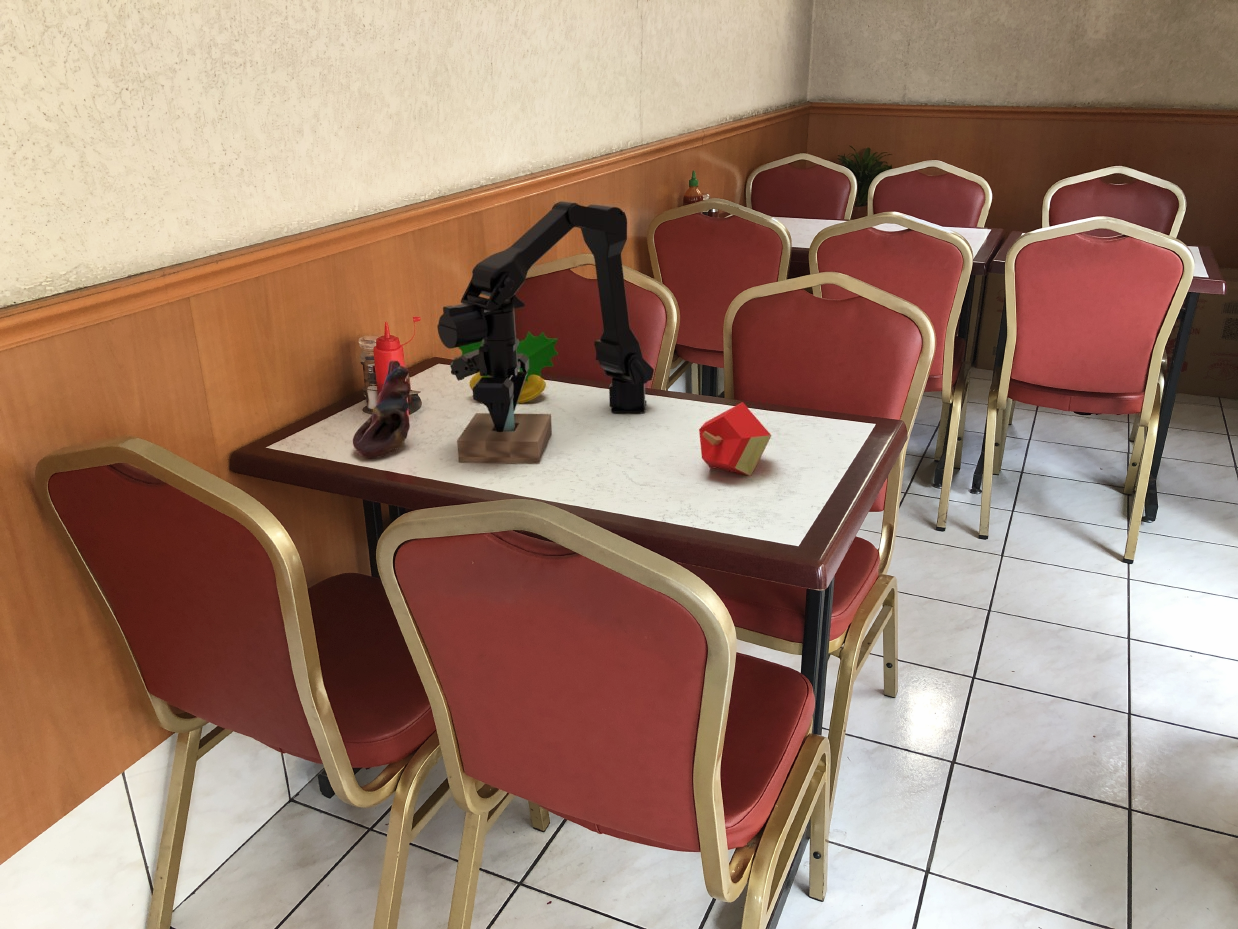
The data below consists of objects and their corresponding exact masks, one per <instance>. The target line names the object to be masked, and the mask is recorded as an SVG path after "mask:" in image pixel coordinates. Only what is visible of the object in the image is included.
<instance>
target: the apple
mask: <svg viewBox="0 0 1238 929" xmlns="http://www.w3.org/2000/svg"><path fill="white" fill-rule="evenodd" d="M698 431H699V434H698V435H699V442H700V443H699V444H700V451H701V452H700V453H701V459H702V461H704V462H705V463H706V464H707V466H708V467H709V468H714V469H719V470H722V471H727V472H732V473H736V474H741V475H745V476H749V477H751V475H752V474H753V472H754V471H755V468H756V467H757V466H758V464H759V462H760V459H761V457H762V456H763V453H764V452H765V449H766V447H767V445H768V443H769V442H770V439H771V438H772V434H771V433H770V431H768V429H767V428H766V427H765V426H764V425H763V424H762V423H761V421H759V419H758V418H757V417H756V415H755V414H754V413H753V412H752V411H751V410H750V409H749V408H748V407H747V405H746V404H745V403H744V402H742V401H741V402H740V403H738V404H736V405H734V406H733V407H731V408H729V409H727V410H725V411H723V412H721V413H720V414H718V415H716V416H714V417H712V418H711V419H709V420H707V421H705V422H704V423H703V424H702V425H701V426H700V428H699V429H698Z"/></svg>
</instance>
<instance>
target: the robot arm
mask: <svg viewBox="0 0 1238 929" xmlns="http://www.w3.org/2000/svg"><path fill="white" fill-rule="evenodd" d="M574 228H578V229H580V230H581V234H582V237H583V241H584V243H585V245H586V246H587V248H588V250H589V251H590V252H591V254H592V255H593V259H594V267H595V274H596V281H597V287H598V288H597V289H598V297H599V303H600V311H601V320H602V325H603V326H602V328H603V331H602V334H601V336H600V339H597V340H594V342H593V343H594V344H593V345H594V348H595V354H596V355H595V361H597V362H598V363H599V365H600V367H601V368H602V369H603V372H604V375H605V376H606V377H610V378H611V383H610V384H609V387H608V390H609V391H608V393H609V394H608V397H609V399H608V400H609V407H610V408H611V410H610V411H611V413H614V414H617V413H618V414H623V413H624V414H644V413H645V412H646V408H647V400H646V384H647V383H648V382H649V381H652V379H653V376H654V371H655V369H654V368H653V367H652V366H651V365H650V364H649V363H648V362H647V361H646V360H645V359H644V358H643V357H644V356H643V352H642V349H641V348H642V347H641V345H640V341H639V340H638V338H637V337H636V335H635V334H634V331H633V330H632V329H631V326H630V319H629V318H630V317H629V311H628V310H629V309H628V303H627V302H628V301H627V295H626V294H627V293H626V286H625V276H624V268H623V259H622V252H623V250H624V248H625V245H626V242H627V239H628V218H627V215H626V212H625V211H623V210H622V208H620V207H616V206H610V205H603V204H595V203H594V204H589V205H587V206H584V205H581V204H579V203H576V202H571V201H564V200H563V201H561V200H560V201H558V202H556V203H554V204H553V206H552V208H551V210H549V211H548V212H547V213H546V214H545V215H543V216H542V217H541V218H540V219H539V220H538V221H537V222H536V223H535V224H534V225H533V226H531V227H530V228H529V229H528V230H527V231H526V232H525V233H524V234H523V235H522V236H520V237H519V238H518V239H517V240H516V241H514V243H513V244H511V246H509V247H508V248H506V249H504V250H502V251H499V252H496V253H493V254H491V255H490V256H487V257H486V258H484V259H483V260H481V261H479V262H478V263H477V264H476V265H475V266H474V267H473V269H472V272H471V276H472V277H471V278H470V281H469V283H468V285H467V287H466V288H465V290H464V293H463V295H462V297H461V299H460V303H461V304H456V305H446V306H443V307H442V311H443V314H442V315H440V317H439V319H438V324H437V332H438V337H439V339H440V341H441V343H442V345H444V347H445V348H447V349H452V350H453V349H455V348H458V347H460V346H465V345H469V344H473V343H477V342H480V341H482V340H483V343H482V344H481V346H480V347H479V350H475V351H472V352H470V353H467V354H464V355H462V354H461V355H459V356H457V357H454V358H453V360H452V362H450V363H449V364H450V365H449V367H450V374H451V375H452V376H455V377H456V379H457V381H458V382H459V381H462V380H464V379H465V378H467V377H470V376H472V375H473V376H474V375H475V374H476V373H478V372H480V376H487V375H490V377H482V378H481V379H480V380H479V381H478V382H477V383H476V384H475V386H474V387H473V388H472V389H471V390H473V391H472V399H473V400H474V401H476V402H477V403H481V404H482V405H484V406H486V408H487V411H488V413H490V416H491V418H492V421H493V423H494V426H495V429H496V431H497V432H503V430H504V427H505V424H506V420H507V417H508V414H509V410H510V407H511V404H512V400H513V410H514V412H515V411H516V408H517V404H518V403H517V402H518V399H519V396H520V393H521V390H522V387H523V385H524V382H525V379H526V376H527V371H528V369H529V358H527V357H526V356H525V355H524V354H517V346H518V345H519V341H520V340H519V338H517V332H516V318H515V317H516V316H515V310H516V309H521V308H524V307H526V303H525V302H523V301H522V300H521V299H520V298H518V297H517V295H516V293H517V292H518V291H519V289H520V288H521V287H522V285H523V284H524V283H525V282H526V278H527V275H528V272H529V271H530V269H531V268H532V266H534V264H536V263H537V262H538V261H539V260H540V259H541V258H542V257H543V256H544V255H545V254H547V253H548V252H549V251H550V250H551V249H552V248H553V247H554V246H555V245H556V244H557V243H558V242H560V241H561V240H562V239H563V238H564V237H565V236H567V234H568V233H570V232H571V231H572V230H573V229H574ZM480 295H483V296H486V297H483V296H480ZM487 297H489V298H487ZM520 368H522V370H523V372H522V371H519V369H520Z"/></svg>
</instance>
